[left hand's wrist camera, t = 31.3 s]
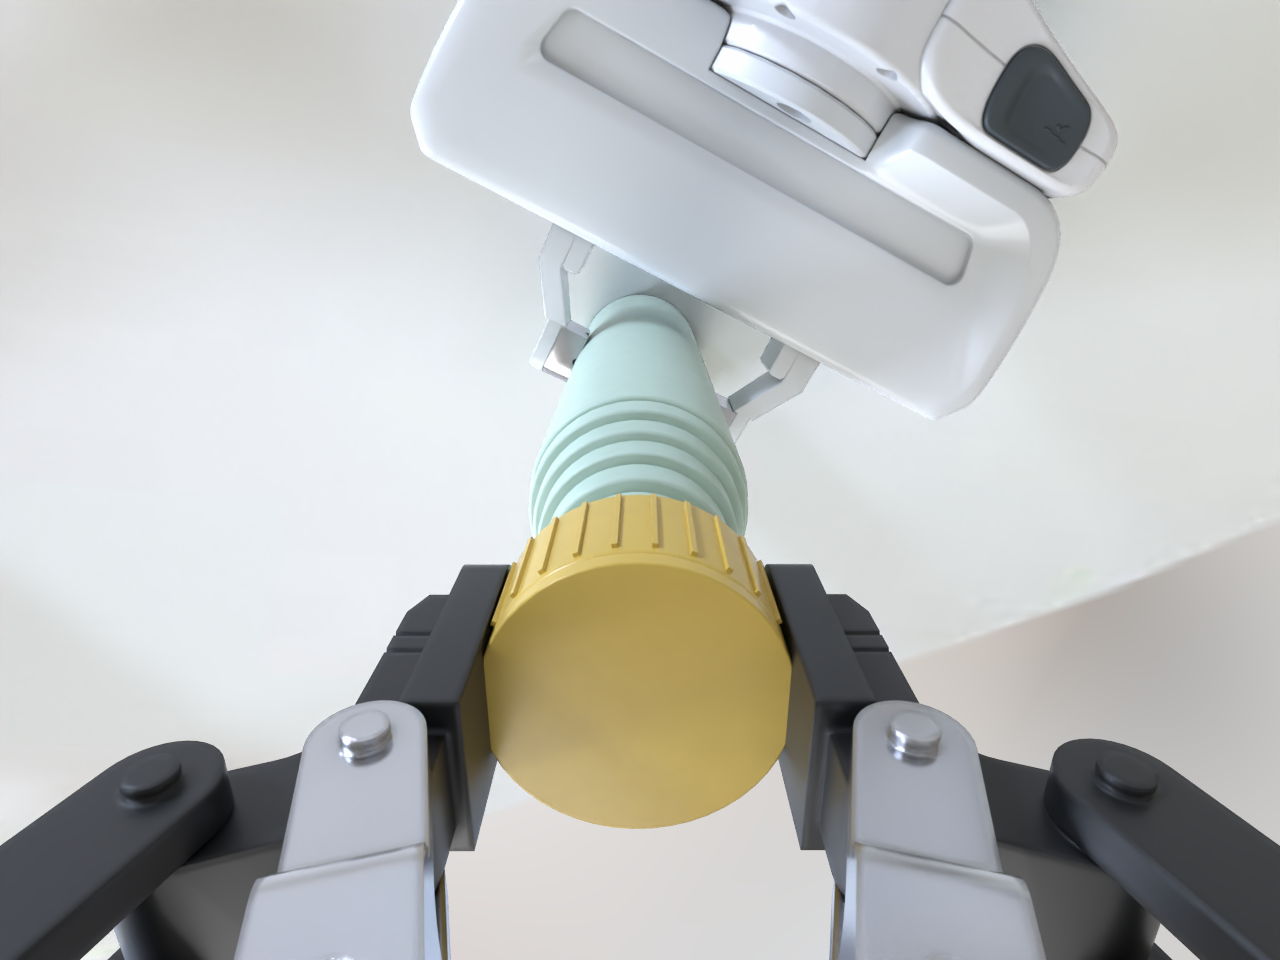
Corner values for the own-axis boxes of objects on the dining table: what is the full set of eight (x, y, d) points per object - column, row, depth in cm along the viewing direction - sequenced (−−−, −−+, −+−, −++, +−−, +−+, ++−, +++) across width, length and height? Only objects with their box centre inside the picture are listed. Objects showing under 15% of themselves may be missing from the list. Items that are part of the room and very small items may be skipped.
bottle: (672, 420, 33) (730, 837, 12) (569, 384, 33) (429, 753, 11) (712, 317, 32) (865, 580, 10) (604, 277, 31) (521, 466, 9)
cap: (816, 660, 12) (853, 760, 10) (587, 760, 13) (576, 873, 11) (698, 440, 11) (711, 500, 9) (450, 566, 12) (406, 649, 10)
